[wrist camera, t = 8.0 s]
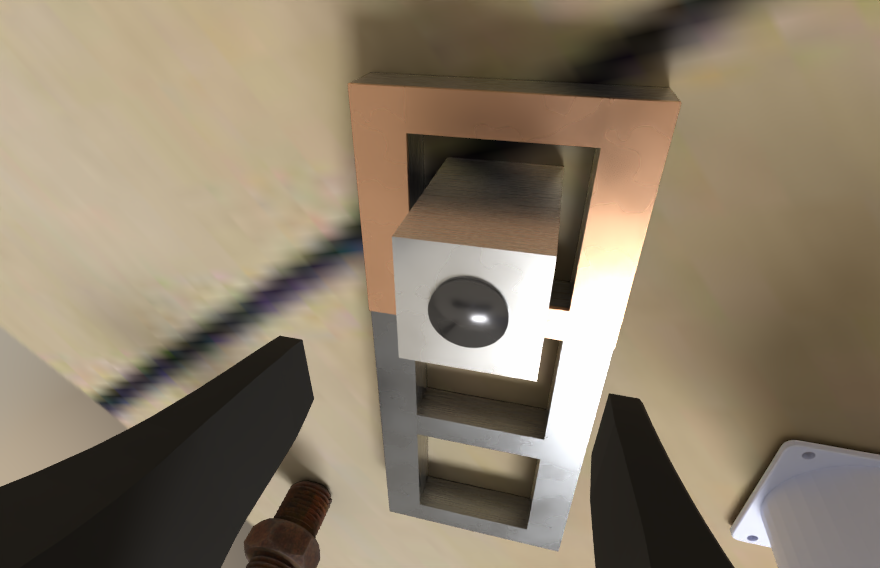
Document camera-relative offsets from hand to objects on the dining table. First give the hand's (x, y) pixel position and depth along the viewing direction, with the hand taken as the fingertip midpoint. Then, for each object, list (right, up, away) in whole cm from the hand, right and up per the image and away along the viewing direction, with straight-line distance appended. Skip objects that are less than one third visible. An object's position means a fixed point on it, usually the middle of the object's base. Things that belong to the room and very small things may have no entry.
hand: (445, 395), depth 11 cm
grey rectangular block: (+2, +6, +9) cm, 10 cm away
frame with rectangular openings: (+2, -1, +13) cm, 13 cm away
